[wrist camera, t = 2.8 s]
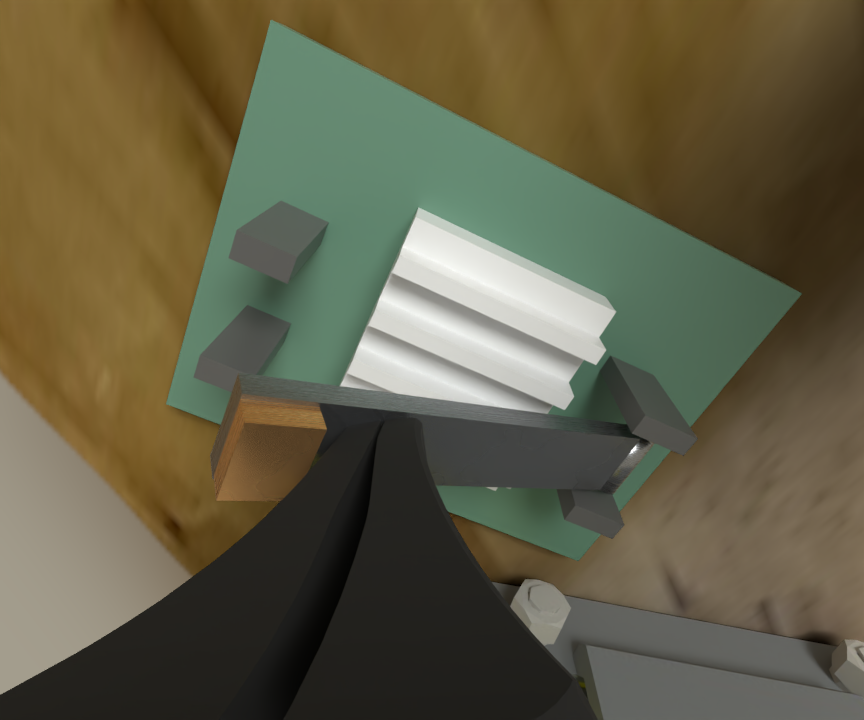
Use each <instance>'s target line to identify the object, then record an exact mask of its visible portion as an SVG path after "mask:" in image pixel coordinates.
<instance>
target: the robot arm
mask: <svg viewBox="0 0 864 720" xmlns="http://www.w3.org/2000/svg"><path fill="white" fill-rule="evenodd" d="M0 720H598V719H597V717H596V715H595V713H594V711H593V709H592V708H591V706H590V704H589V702H588V700H587V698H586V696H585V694H584V692H583V691H582V689H581V687H580V685H579V683H578V681H577V680H576V679H575V678H574V677H573V676H572V675H571V674H570V673H569V672H568V671H567V669H566V668H565V667H564V666H563V665H562V664H561V663H560V662H559V661H558V660H557V659H556V658H555V657H554V656H553V655H552V654H551V653H550V652H549V651H548V650H547V649H546V647H545V646H544V645H543V644H542V643H541V642H540V641H539V640H538V639H537V638H536V637H535V635H534V634H533V633H532V632H531V631H530V630H529V628H528V627H527V626H526V625H525V624H524V623H523V621H522V620H521V619H520V618H519V617H518V616H517V614H516V613H515V612H514V611H513V610H512V608H511V607H510V606H509V604H508V603H507V602H506V600H505V599H504V598H503V596H502V595H501V594H500V592H499V591H498V590H497V588H496V587H495V586H494V585H493V583H492V582H491V581H490V579H489V578H488V577H487V575H486V574H485V573H484V571H483V570H482V568H481V567H480V565H479V564H478V562H477V561H476V559H475V558H474V556H473V555H472V553H471V552H470V550H469V548H468V547H467V545H466V543H465V542H464V540H463V538H462V537H461V535H460V533H459V532H458V530H457V528H456V526H455V525H454V523H453V521H452V519H451V517H450V515H449V513H448V511H447V509H446V507H445V505H444V503H443V501H442V499H441V497H440V494H439V492H438V490H437V487H436V485H435V482H434V480H433V477H432V474H431V472H430V469H429V466H428V463H427V457H426V450H425V442H424V434H423V427H422V422H420V421H419V420H418V419H417V418H407V419H393V420H385V422H384V424H383V426H382V424H381V420H379V421H374V422H368V423H363V424H358V425H352V426H348V427H347V428H346V429H345V430H344V431H343V432H342V433H341V434H340V436H339V437H338V438H337V439H336V440H335V442H334V443H333V444H332V445H331V446H330V447H329V449H328V450H327V451H326V452H325V453H324V455H323V456H322V457H321V458H320V459H319V460H318V462H317V463H316V464H315V465H314V466H313V467H312V468H311V469H310V471H309V472H308V473H307V474H306V475H305V476H304V477H303V478H302V479H301V481H300V482H299V483H298V484H297V485H296V486H295V487H294V488H293V489H292V490H291V491H290V492H289V493H288V494H287V495H286V496H285V497H284V498H283V499H282V500H281V501H280V502H279V503H278V504H277V506H276V507H275V508H274V509H273V510H272V511H271V512H270V513H269V514H268V515H267V516H266V517H265V518H264V519H262V520H261V521H260V522H259V523H258V524H257V525H256V526H255V527H254V528H253V529H252V530H250V531H249V532H248V533H247V534H246V535H245V536H244V537H242V538H241V539H240V540H239V541H238V542H237V543H235V544H234V545H233V546H232V547H231V548H229V549H228V550H227V551H226V552H225V553H223V554H222V555H221V556H220V557H218V558H217V559H216V560H215V561H213V562H212V563H211V564H210V565H208V566H207V567H205V568H204V569H203V570H201V571H200V572H199V573H197V574H196V575H195V576H193V577H192V578H190V579H189V580H188V581H186V582H185V583H184V584H182V585H181V586H180V587H178V588H177V589H175V590H174V591H173V592H171V593H170V594H169V595H167V596H166V597H165V598H163V599H162V600H161V601H159V602H157V603H156V604H154V605H153V606H151V607H150V608H149V609H147V610H145V611H144V612H142V613H141V614H139V615H138V616H136V617H135V618H133V619H132V620H130V621H128V622H127V623H125V624H124V625H122V626H120V627H119V628H117V629H116V630H114V631H112V632H111V633H109V634H107V635H106V636H104V637H103V638H101V639H99V640H98V641H96V642H94V643H93V644H91V645H89V646H88V647H86V648H84V649H82V650H81V651H79V652H77V653H76V654H74V655H72V656H70V657H69V658H67V659H65V660H63V661H61V662H59V663H58V664H56V665H54V666H52V667H50V668H48V669H47V670H45V671H43V672H41V673H39V674H38V675H36V676H34V677H32V678H30V679H28V680H27V681H25V682H23V683H21V684H19V685H18V686H16V687H14V688H12V689H10V690H8V691H7V692H5V693H3V694H1V695H0Z"/></svg>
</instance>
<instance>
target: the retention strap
mask: <svg viewBox="0 0 864 720" xmlns="http://www.w3.org/2000/svg"><path fill="white" fill-rule="evenodd" d="M407 418H417V419H418V420H419V421H420V422H422V427H423V434H424V442H425V450H426V457H427V463H428V466H429V469H430V472H431V474H432V477H433V480H434V482H435V485H437V486H471V487H506V488H541V489H576V490H601V491H602V492H604V493H607V494H614V493H615V492H616V491H617V489H618V488H619V487H620V486H621V484H622V483H623V482H624V481H625V480H626V478H627V477H628V476H629V475H630V473H631V472H632V471H633V470H634V468H635V467H636V466H637V465H638V464H639V462H640V461H641V460H642V459H643V457H644V456H645V455H646V454H647V452H648V451H649V450H650V449H651V448H652V446H653V445H654V444H655V443H653V442H651V441H648V440H646V439H644V438H641V437H639V436H637V435H635V434H632V433H631V431H630V429H629V427H628V425H627V424H620V423H613V422H605V421H598V420H590V419H583V418H575V417H568V416H560V415H553V414H545V413H538V412H530V411H523V410H516V409H508V408H501V407H493V406H486V405H478V404H471V403H463V402H456V401H448V400H441V399H433V398H426V397H418V396H411V395H403V394H396V393H389V392H381V391H374V390H366V389H359V388H351V387H344V386H336V385H329V384H321V383H314V382H306V381H299V380H291V379H284V378H276V377H269V376H262V375H254V374H247V373H239V372H238V375H237V378H236V381H235V384H234V387H233V390H232V393H231V396H230V399H229V402H228V405H227V408H226V411H225V414H224V417H223V420H222V423H221V426H220V429H219V432H218V435H217V437H216V440H215V443H214V446H213V449H212V452H211V455H210V457H211V468H212V478H213V479H214V481H215V491H216V501H281V500H282V499H283V498H284V497H285V496H286V495H287V494H288V493H289V492H290V491H291V490H292V489H293V488H294V487H295V486H296V485H297V484H298V483H299V482H300V481H301V479H302V478H303V477H304V476H305V475H306V474H307V473H308V472H309V471H310V469H311V468H312V467H313V466H314V465H315V464H316V463H317V462H318V460H319V459H320V458H321V457H322V456H323V455H324V453H325V452H326V451H327V450H328V449H329V447H330V446H331V445H332V444H333V443H334V442H335V440H336V439H337V438H338V437H339V436H340V434H341V433H342V432H343V431H344V430H345V429H346V428H347V427H348V426H352V425H358V424H363V423H368V422H374V421H379V420H381V424H382V426H383V424H384V422H385V420H393V419H407Z"/></svg>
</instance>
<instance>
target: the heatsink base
mask: <svg viewBox="0 0 864 720" xmlns="http://www.w3.org/2000/svg"><path fill="white" fill-rule="evenodd" d="M801 294H802V293H800V292H798V291H797V290H795V289H793V288H792V287H790V286H788V285H787V284H785V283H783V282H781V281H780V280H778V279H776V278H774V277H772V276H770V275H768V274H766V273H764V272H762V271H760V270H758V269H756V268H754V267H752V266H750V265H749V264H747V263H745V262H743V261H741V260H739V259H737V258H735V257H733V256H731V255H729V254H727V253H725V252H723V251H721V250H719V249H718V248H716V247H714V246H712V245H710V244H708V243H706V242H704V241H702V240H700V239H698V238H696V237H694V236H692V235H690V234H688V233H686V232H685V231H683V230H681V229H679V228H677V227H675V226H673V225H671V224H669V223H667V222H665V221H663V220H661V219H659V218H657V217H655V216H654V215H652V214H650V213H648V212H646V211H644V210H642V209H640V208H638V207H636V206H634V205H632V204H630V203H628V202H626V201H624V200H623V199H621V198H619V197H617V196H615V195H613V194H611V193H609V192H607V191H605V190H603V189H601V188H599V187H597V186H595V185H593V184H591V183H590V182H588V181H586V180H584V179H582V178H580V177H578V176H576V175H574V174H572V173H570V172H568V171H566V170H564V169H562V168H560V167H559V166H557V165H555V164H553V163H551V162H549V161H547V160H545V159H543V158H541V157H539V156H537V155H535V154H533V153H531V152H529V151H527V150H526V149H524V148H522V147H520V146H518V145H516V144H514V143H512V142H510V141H508V140H506V139H504V138H502V137H500V136H498V135H496V134H495V133H493V132H491V131H489V130H487V129H485V128H483V127H481V126H479V125H477V124H475V123H473V122H471V121H469V120H467V119H465V118H464V117H462V116H460V115H458V114H456V113H454V112H452V111H450V110H448V109H446V108H444V107H442V106H440V105H438V104H436V103H434V102H432V101H431V100H429V99H427V98H425V97H423V96H421V95H419V94H417V93H415V92H413V91H411V90H409V89H407V88H405V87H403V86H401V85H400V84H398V83H396V82H394V81H392V80H390V79H388V78H386V77H384V76H382V75H380V74H378V73H376V72H374V71H372V70H370V69H369V68H367V67H365V66H363V65H361V64H359V63H357V62H355V61H353V60H351V59H349V58H347V57H345V56H343V55H341V54H339V53H337V52H336V51H334V50H332V49H330V48H328V47H326V46H324V45H322V44H320V43H318V42H316V41H314V40H312V39H310V38H308V37H306V36H305V35H303V34H301V33H299V32H297V31H295V30H293V29H291V28H289V27H287V26H285V25H283V24H281V23H278V22H275V21H272V20H271V22H270V25H269V29H268V33H267V36H266V40H265V44H264V47H263V51H262V55H261V58H260V62H259V66H258V69H257V73H256V77H255V80H254V84H253V88H252V91H251V95H250V99H249V102H248V106H247V110H246V113H245V117H244V121H243V124H242V128H241V132H240V135H239V139H238V143H237V146H236V150H235V154H234V157H233V161H232V165H231V168H230V172H229V176H228V179H227V183H226V187H225V190H224V194H223V198H222V201H221V205H220V209H219V212H218V216H217V220H216V223H215V227H214V231H213V234H212V238H211V242H210V245H209V249H208V253H207V256H206V260H205V264H204V267H203V271H202V274H201V278H200V282H199V285H198V289H197V293H196V296H195V300H194V304H193V307H192V311H191V315H190V318H189V322H188V326H187V329H186V333H185V337H184V340H183V344H182V348H181V351H180V355H179V359H178V362H177V366H176V370H175V373H174V377H173V381H172V384H171V388H170V392H169V395H168V399H167V403H166V404H167V405H170V406H173V407H175V408H178V409H180V410H183V411H186V412H188V413H191V414H194V415H196V416H199V417H201V418H204V419H207V420H209V421H212V422H215V423H217V424H220V425H221V423H222V420H223V417H224V414H225V411H226V408H227V405H228V402H229V399H230V396H231V393H232V390H233V387H234V384H235V381H236V378H237V375H238V372H239V373H247V374H254V375H262V376H269V377H276V378H284V379H291V380H299V381H306V382H314V383H321V384H329V385H336V386H344V387H351V388H359V389H366V390H374V391H381V392H389V393H396V394H403V395H411V396H418V397H426V398H433V399H441V400H448V401H456V402H463V403H471V404H478V405H486V406H493V407H501V408H508V409H516V410H523V411H530V412H538V413H545V414H553V415H560V416H568V417H575V418H583V419H590V420H598V421H605V422H613V423H620V424H627V425H628V427H629V429H630V431H631V433H632V434H635V435H637V436H639V437H641V438H644V439H646V440H648V441H651V442H653V443H655V444H654V445H653V446H652V448H651V449H650V450H649V451H648V452H647V454H646V455H645V456H644V457H643V459H642V460H641V461H640V462H639V464H638V465H637V466H636V467H635V468H634V470H633V471H632V472H631V473H630V475H629V476H628V477H627V478H626V480H625V481H624V482H623V483H622V484H621V486H620V487H619V488H618V489H617V491H616V492H615V493H614V494H607V493H604V492H602V491H601V490H576V489H541V488H506V487H471V486H437V485H436V487H437V490H438V492H439V494H440V497H441V499H442V501H443V503H444V505H445V507H446V509H447V511H448V512H451V513H453V514H456V515H459V516H461V517H464V518H467V519H469V520H472V521H474V522H477V523H480V524H482V525H485V526H488V527H490V528H493V529H495V530H498V531H501V532H503V533H506V534H509V535H511V536H514V537H516V538H519V539H522V540H524V541H527V542H530V543H532V544H535V545H537V546H540V547H543V548H545V549H548V550H550V551H553V552H556V553H558V554H561V555H564V556H566V557H569V558H571V559H574V560H577V561H579V560H580V559H581V557H582V556H583V555H584V554H585V553H586V551H587V550H588V549H589V548H590V547H591V545H592V544H593V543H594V542H595V541H596V539H597V538H598V537H599V536H600V535H604V536H606V537H609V538H611V539H613V538H614V536H615V535H616V534H617V533H618V532H619V531H620V529H621V528H622V527H623V526H624V523H623V520H622V518H621V515H620V511H621V510H622V508H623V507H624V506H625V505H626V504H627V502H628V501H629V500H630V499H631V498H632V496H633V495H634V494H635V493H636V492H637V490H638V489H639V488H640V487H641V486H642V485H643V483H644V482H645V481H646V480H647V479H648V477H649V476H650V475H651V474H652V473H653V471H654V470H655V469H656V468H657V467H658V465H659V464H660V463H661V462H662V461H663V459H664V458H665V457H666V456H667V455H668V453H669V452H670V451H674V452H676V453H678V454H681V455H683V456H684V455H685V453H686V452H687V451H688V450H689V449H690V448H691V446H692V445H693V444H694V443H695V442H696V441H697V439H698V438H697V437H696V435H695V434H694V432H693V431H692V429H691V428H690V427H691V426H692V425H693V424H694V422H695V421H696V420H697V419H698V418H699V416H700V415H701V414H702V413H703V412H704V410H705V409H706V408H707V407H708V406H709V404H710V403H711V402H712V401H713V400H714V398H715V397H716V396H717V395H718V394H719V392H720V391H721V390H722V389H723V388H724V386H725V385H726V384H727V383H728V382H729V381H730V379H731V378H732V377H733V376H734V375H735V373H736V372H737V371H738V370H739V369H740V367H741V366H742V365H743V364H744V363H745V361H746V360H747V359H748V358H749V357H750V355H751V354H752V353H753V352H754V351H755V349H756V348H757V347H758V346H759V345H760V343H761V342H762V341H763V340H764V339H765V337H766V336H767V335H768V334H769V333H770V331H771V330H772V329H773V328H774V327H775V326H776V324H777V323H778V322H779V321H780V320H781V318H782V317H783V316H784V315H785V314H786V312H787V311H788V310H789V309H790V308H791V306H792V305H793V304H794V303H795V302H796V300H797V299H798V298H799V297H800V296H801Z"/></svg>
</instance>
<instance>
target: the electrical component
mask: <svg viewBox="0 0 864 720" xmlns="http://www.w3.org/2000/svg"><path fill="white" fill-rule="evenodd" d="M492 583H493V585H494V586H495V587H496V588H497V590H498V591H499V592H500V594H501V595H502V596H503V598H504V599H505V600H506V602H507V603H508V604H509V606H510V607H511V608H512V610H513V611H514V612H515V613H516V614H517V616H518V617H519V618H520V619H521V620H522V621H523V623H524V624H525V625H526V626H527V627H528V628H529V630H530V631H531V632H532V633H533V634H534V635H535V637H536V638H537V639H538V640H539V641H540V642H541V643H542V644H543V645H544V646H545V647H546V649H547V650H548V651H549V652H550V653H551V654H552V655H553V656H554V657H555V658H556V659H557V660H558V661H559V662H560V663H561V664H562V665H563V666H564V667H565V668H566V669H567V671H568V672H569V673H570V674H571V675H572V676H573V677H574V678H575V679H576V680H577V681H578V683H579V685H580V687H581V689H582V691H583V692H584V694H585V696H586V698H587V700H588V702H589V704H590V706H591V708H592V709H593V711H594V713H595V715H596V717H597V719H598V720H864V642H861V641H858V640H845V639H844V640H843V641H842V643H841V644H840V645H839V646H838V647H836V646H831V645H825V644H820V643H815V642H809V641H804V640H799V639H793V638H788V637H783V636H777V635H772V634H767V633H761V632H756V631H751V630H746V629H740V628H735V627H730V626H724V625H719V624H714V623H708V622H703V621H698V620H692V619H687V618H682V617H676V616H671V615H666V614H660V613H655V612H650V611H645V610H639V609H634V608H629V607H623V606H618V605H613V604H607V603H602V602H597V601H591V600H586V599H581V598H575V597H570V596H565V595H563V594H562V593H561V592H560V591H559V590H558V589H557V588H556V587H555V586H554V585H553V584H550V583H547V582H544V581H541V580H535V579H525V580H524V582H523V583H522V585H521V587H517V586H512V585H506V584H501V583H496V582H492Z"/></svg>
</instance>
